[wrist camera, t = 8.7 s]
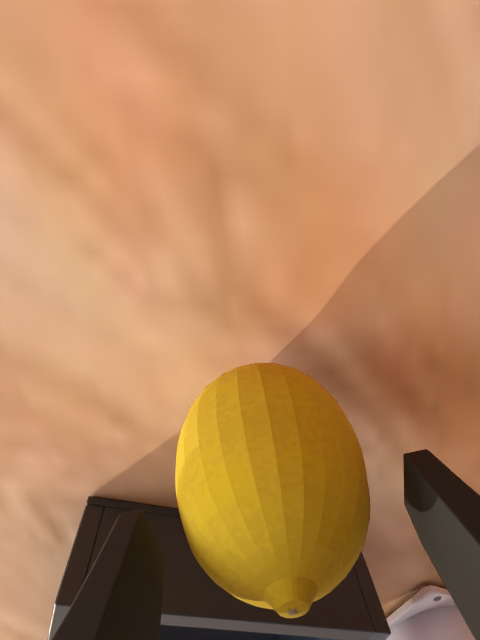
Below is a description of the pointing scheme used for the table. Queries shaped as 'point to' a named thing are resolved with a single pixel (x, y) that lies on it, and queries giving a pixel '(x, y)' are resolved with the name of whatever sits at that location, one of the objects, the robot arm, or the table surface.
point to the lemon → (272, 487)
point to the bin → (218, 590)
